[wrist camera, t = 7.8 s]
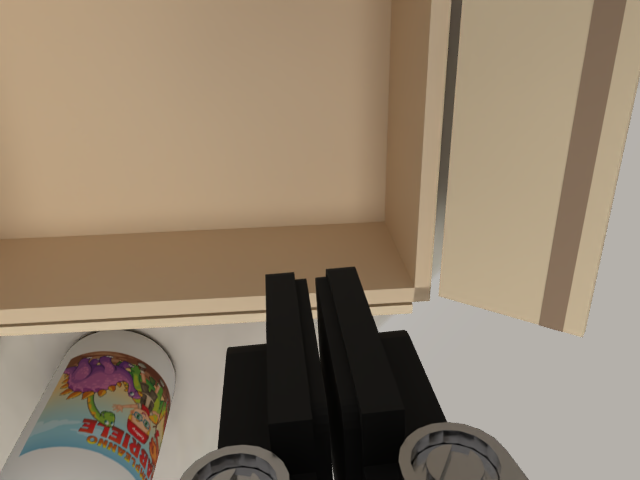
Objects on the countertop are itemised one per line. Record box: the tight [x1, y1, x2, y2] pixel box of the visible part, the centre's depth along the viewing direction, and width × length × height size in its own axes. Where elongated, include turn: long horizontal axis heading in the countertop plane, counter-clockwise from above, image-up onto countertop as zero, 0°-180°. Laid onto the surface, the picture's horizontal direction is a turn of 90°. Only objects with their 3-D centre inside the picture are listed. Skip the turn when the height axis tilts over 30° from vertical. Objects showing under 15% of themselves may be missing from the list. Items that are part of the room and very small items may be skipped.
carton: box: [0, 0, 451, 336], centre depth 28 cm, size 26×20×9 cm
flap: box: [439, 0, 640, 337], centre depth 22 cm, size 1×17×6 cm
